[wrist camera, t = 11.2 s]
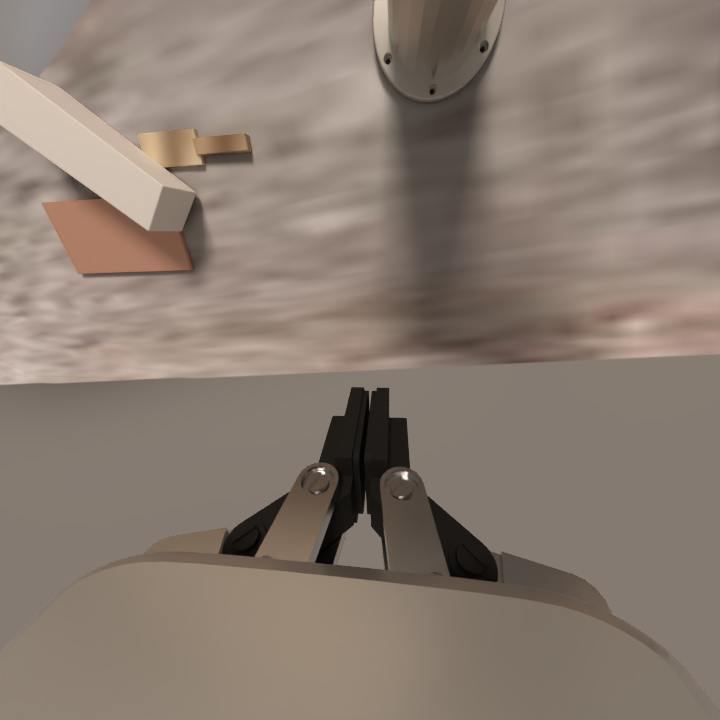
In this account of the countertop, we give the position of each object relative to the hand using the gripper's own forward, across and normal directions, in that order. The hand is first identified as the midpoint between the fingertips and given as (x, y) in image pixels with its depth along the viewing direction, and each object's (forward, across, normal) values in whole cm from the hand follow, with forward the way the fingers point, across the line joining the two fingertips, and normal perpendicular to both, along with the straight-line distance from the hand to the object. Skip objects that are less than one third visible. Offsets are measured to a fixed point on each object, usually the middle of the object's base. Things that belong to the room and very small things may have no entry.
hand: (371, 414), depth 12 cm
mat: (+31, +40, -7) cm, 51 cm away
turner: (+31, +24, -17) cm, 43 cm away
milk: (+27, +27, -10) cm, 40 cm away
